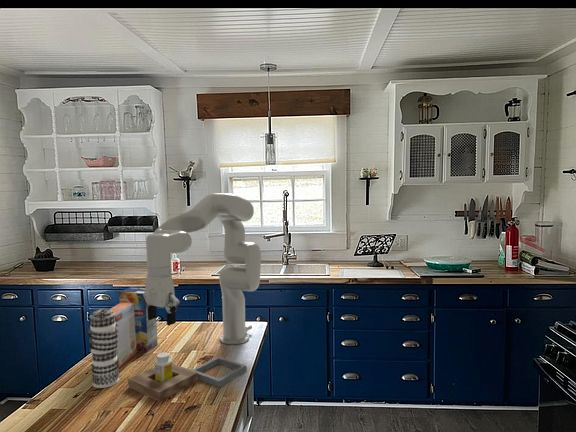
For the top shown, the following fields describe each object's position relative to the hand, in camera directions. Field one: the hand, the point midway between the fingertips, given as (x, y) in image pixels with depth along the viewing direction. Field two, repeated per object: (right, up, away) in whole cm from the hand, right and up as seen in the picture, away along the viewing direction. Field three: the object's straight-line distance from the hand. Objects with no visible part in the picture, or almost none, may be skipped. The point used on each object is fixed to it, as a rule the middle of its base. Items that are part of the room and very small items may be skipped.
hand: (161, 321), depth 140 cm
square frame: (+18, -21, +9) cm, 29 cm away
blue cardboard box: (-19, -19, +33) cm, 43 cm away
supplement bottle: (0, -22, +2) cm, 22 cm away
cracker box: (-22, -21, +21) cm, 37 cm away
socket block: (0, -22, +2) cm, 22 cm away
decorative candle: (-20, -22, +4) cm, 30 cm away
